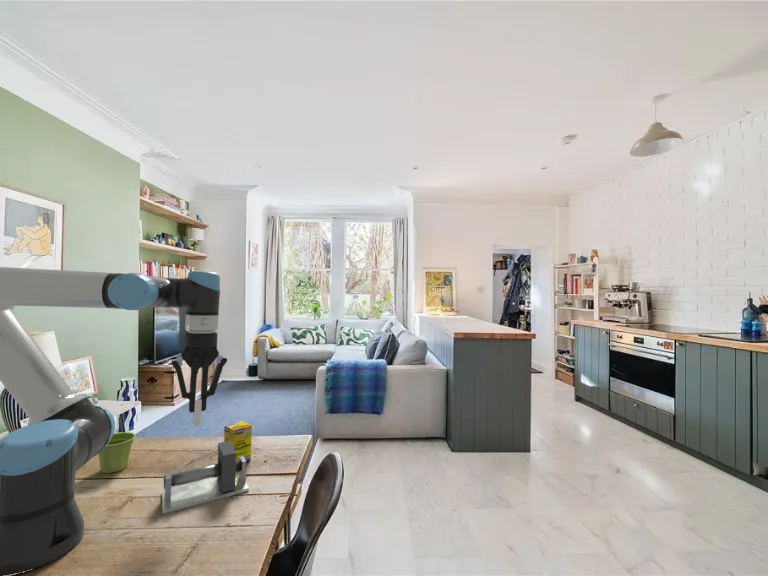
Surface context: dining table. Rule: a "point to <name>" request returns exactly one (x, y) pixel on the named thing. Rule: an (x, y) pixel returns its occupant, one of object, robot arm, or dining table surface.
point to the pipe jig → (199, 486)
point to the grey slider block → (227, 466)
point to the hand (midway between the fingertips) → (196, 424)
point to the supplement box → (239, 438)
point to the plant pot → (116, 452)
